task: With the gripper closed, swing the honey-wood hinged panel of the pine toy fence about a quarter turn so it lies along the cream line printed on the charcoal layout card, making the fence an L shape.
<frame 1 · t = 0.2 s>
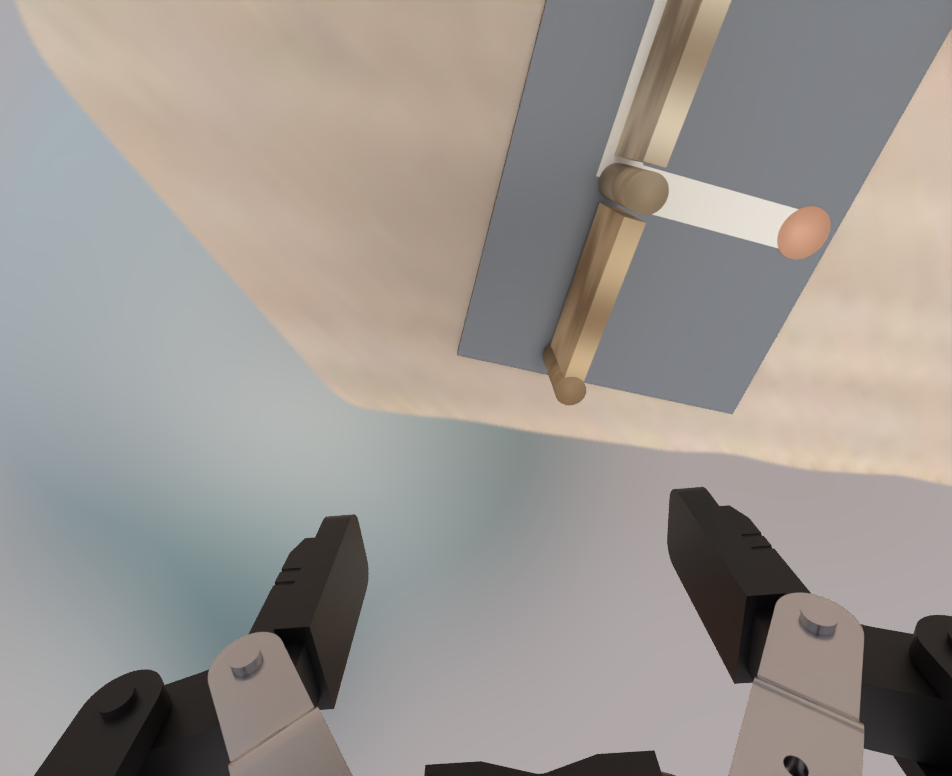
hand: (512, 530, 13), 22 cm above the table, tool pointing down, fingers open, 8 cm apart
fence gate: (587, 305, 30), point 3 cm above the table, hinge at 0.0°
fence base: (613, 180, 30), resting on layout card
layout card: (675, 197, 30), on the table
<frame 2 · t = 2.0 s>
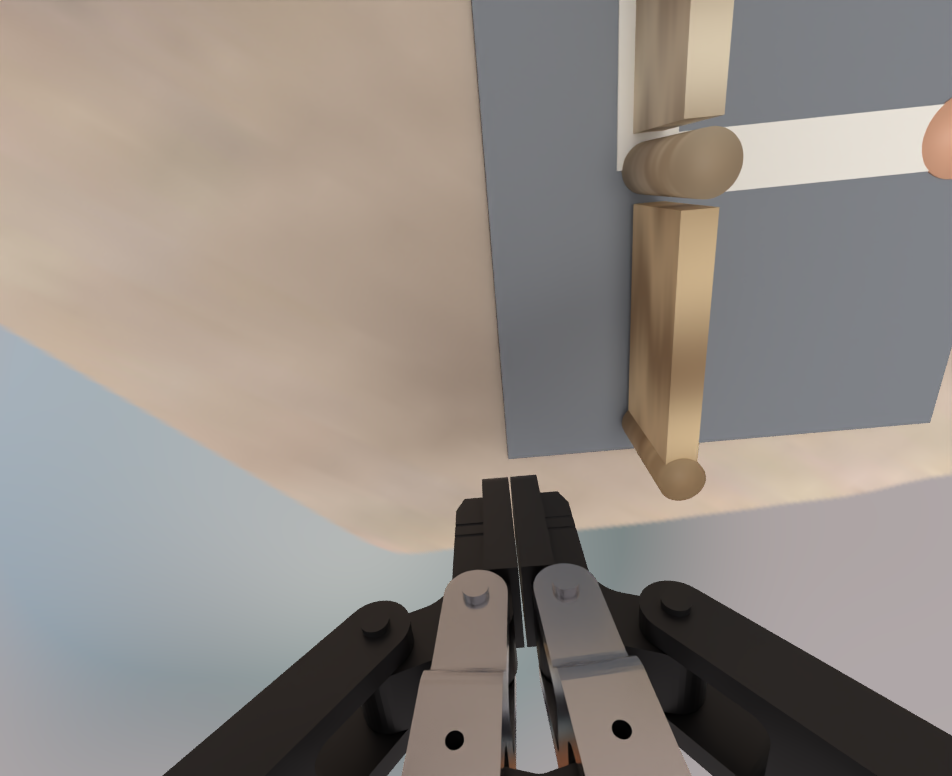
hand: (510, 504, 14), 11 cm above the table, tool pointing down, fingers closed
fence gate: (664, 349, 20), point 3 cm above the table, hinge at 0.0°
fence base: (643, 168, 21), resting on layout card
layout card: (741, 158, 20), on the table
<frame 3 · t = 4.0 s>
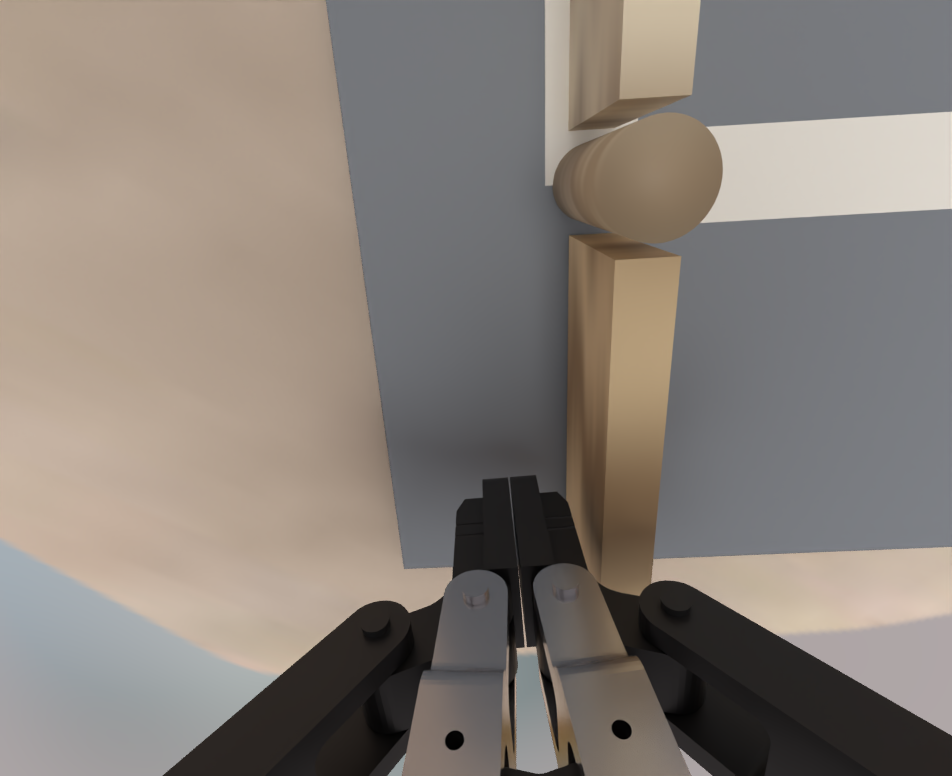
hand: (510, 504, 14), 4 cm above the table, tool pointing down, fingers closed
fence gate: (605, 454, 13), point 3 cm above the table, hinge at 0.2°, touching gripper
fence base: (586, 183, 14), resting on layout card
layout card: (730, 174, 14), on the table
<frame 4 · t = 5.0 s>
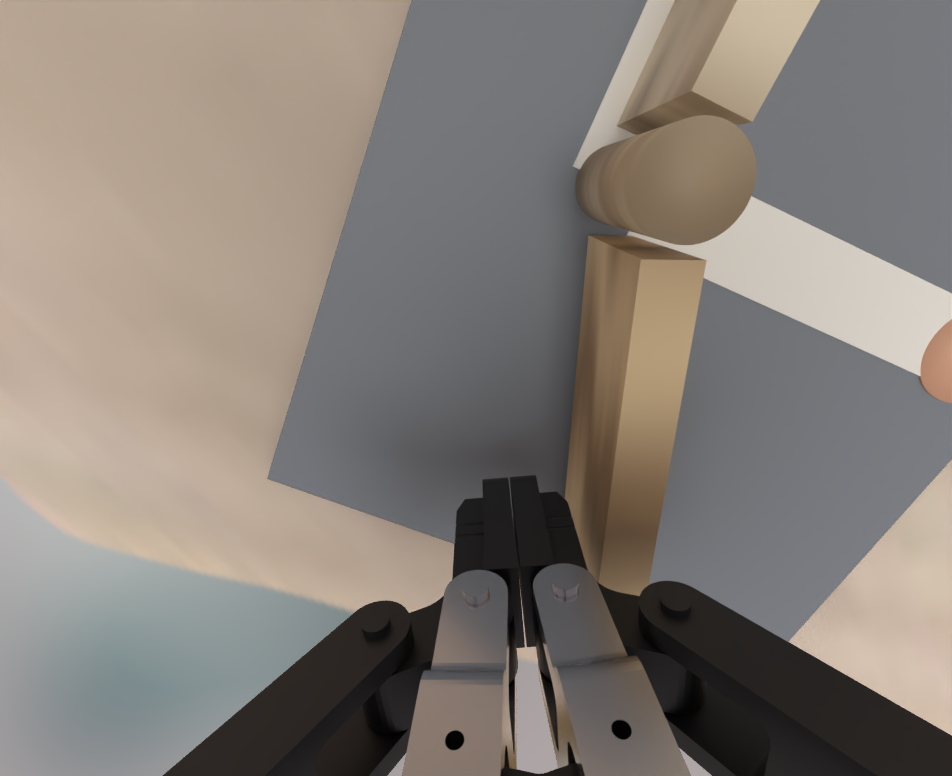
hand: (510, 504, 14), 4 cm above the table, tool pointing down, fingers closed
fence gate: (610, 455, 13), point 3 cm above the table, hinge at 22.1°, touching gripper
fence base: (608, 184, 14), resting on layout card
layout card: (730, 241, 15), on the table
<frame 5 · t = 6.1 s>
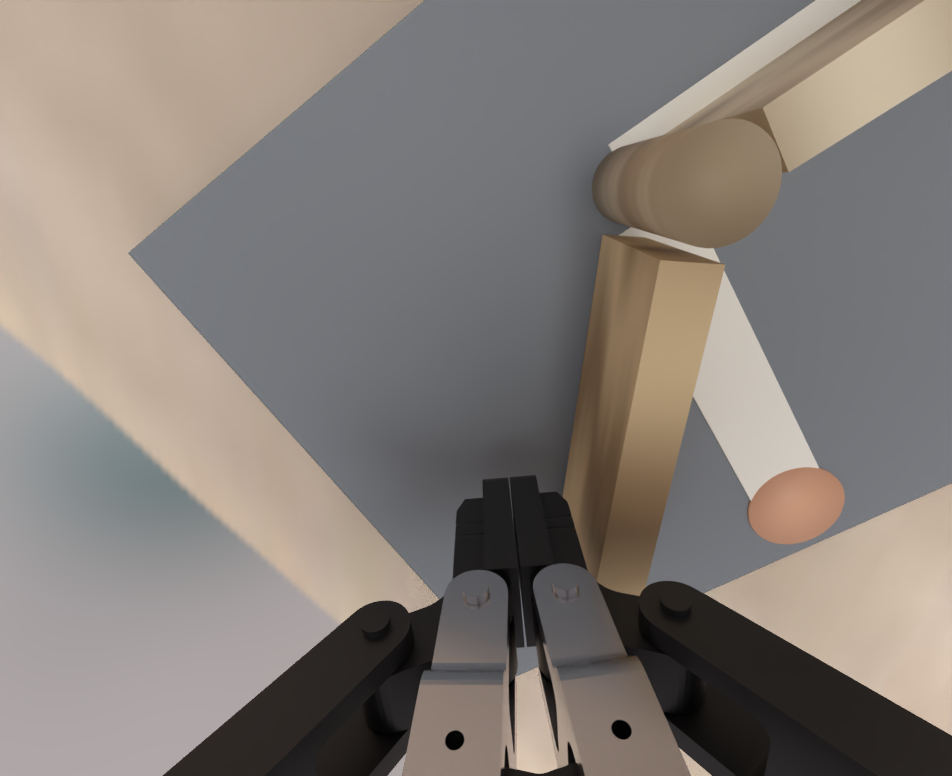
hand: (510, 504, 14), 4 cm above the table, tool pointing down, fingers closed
fence gate: (613, 455, 13), point 3 cm above the table, hinge at 52.7°, touching gripper
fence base: (624, 185, 14), resting on layout card
layout card: (685, 302, 15), on the table
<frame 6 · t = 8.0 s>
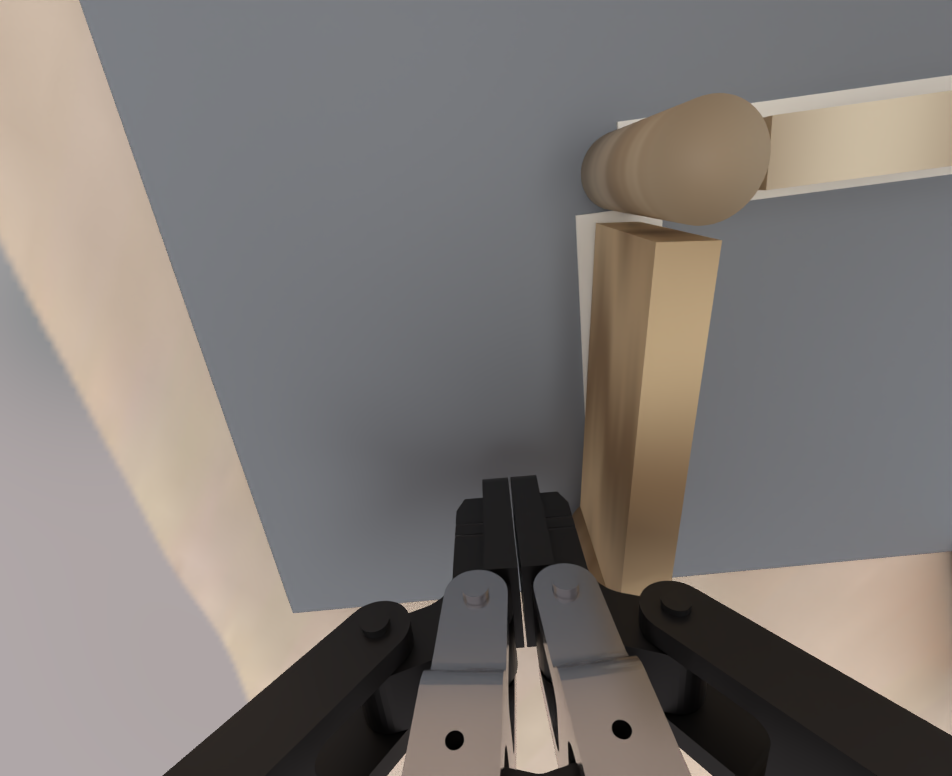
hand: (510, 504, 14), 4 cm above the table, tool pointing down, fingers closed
fence gate: (627, 442, 13), point 3 cm above the table, hinge at 84.7°
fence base: (613, 171, 14), resting on layout card
layout card: (616, 310, 15), on the table
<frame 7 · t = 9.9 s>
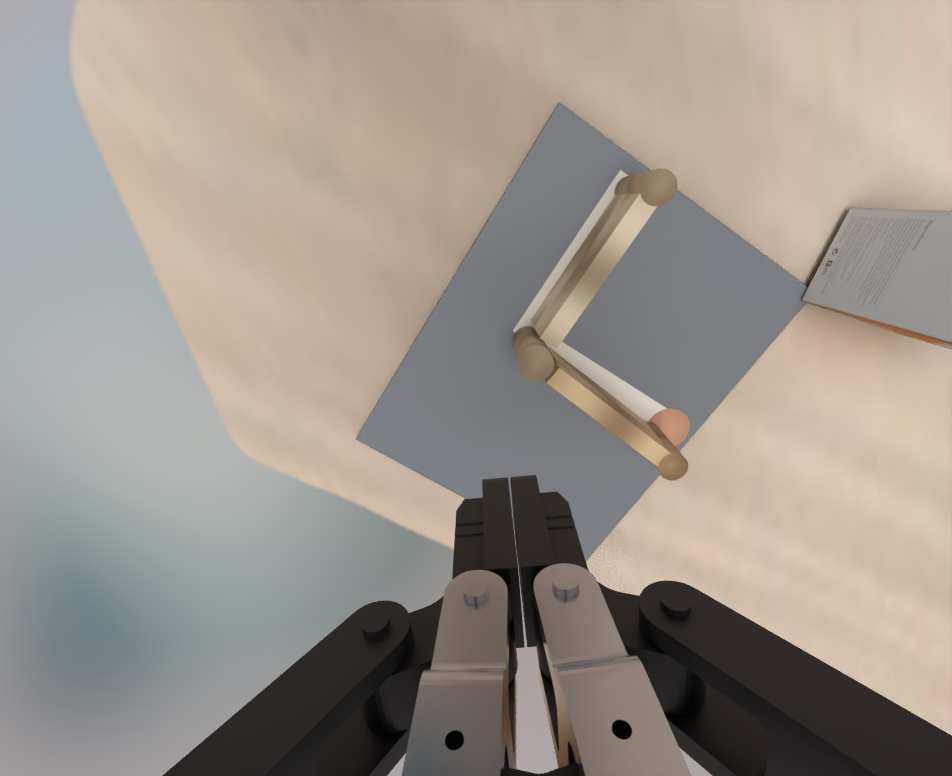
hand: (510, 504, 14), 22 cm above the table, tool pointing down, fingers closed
fence gate: (610, 411, 33), point 3 cm above the table, hinge at 84.7°
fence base: (526, 338, 35), resting on layout card
layout card: (572, 367, 36), on the table
small box: (870, 273, 33), on the table, touching layout card
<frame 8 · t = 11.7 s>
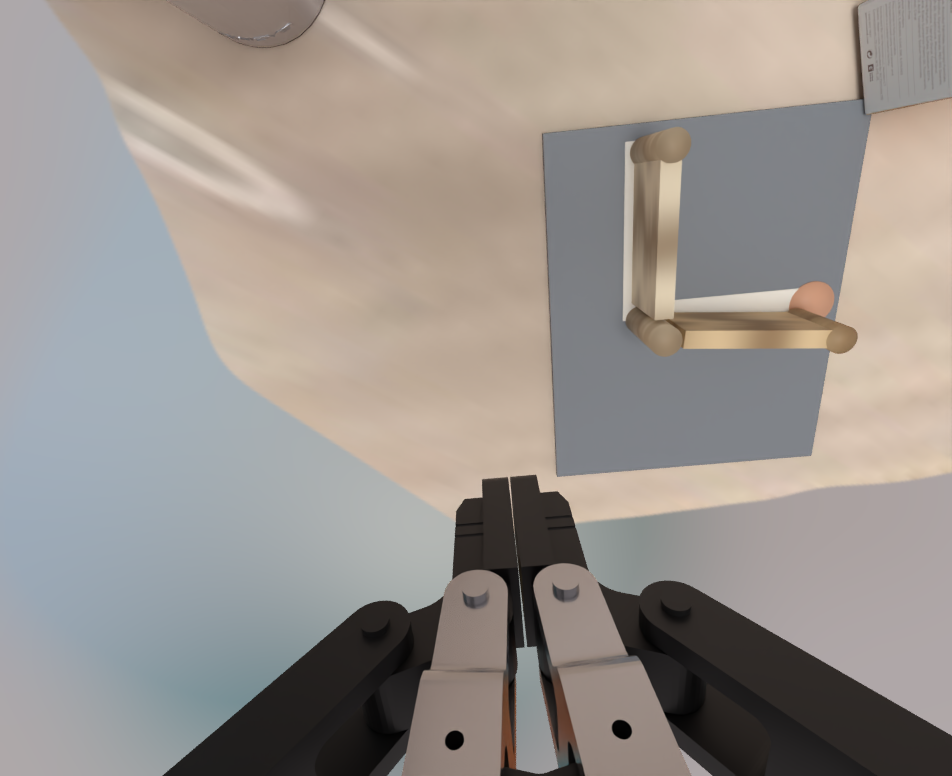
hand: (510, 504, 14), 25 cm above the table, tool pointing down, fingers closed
fence gate: (750, 329, 34), point 3 cm above the table, hinge at 84.7°
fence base: (637, 317, 37), resting on layout card
layout card: (691, 312, 37), on the table
small box: (920, 39, 31), on the table, touching layout card
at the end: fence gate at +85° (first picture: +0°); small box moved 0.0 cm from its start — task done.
